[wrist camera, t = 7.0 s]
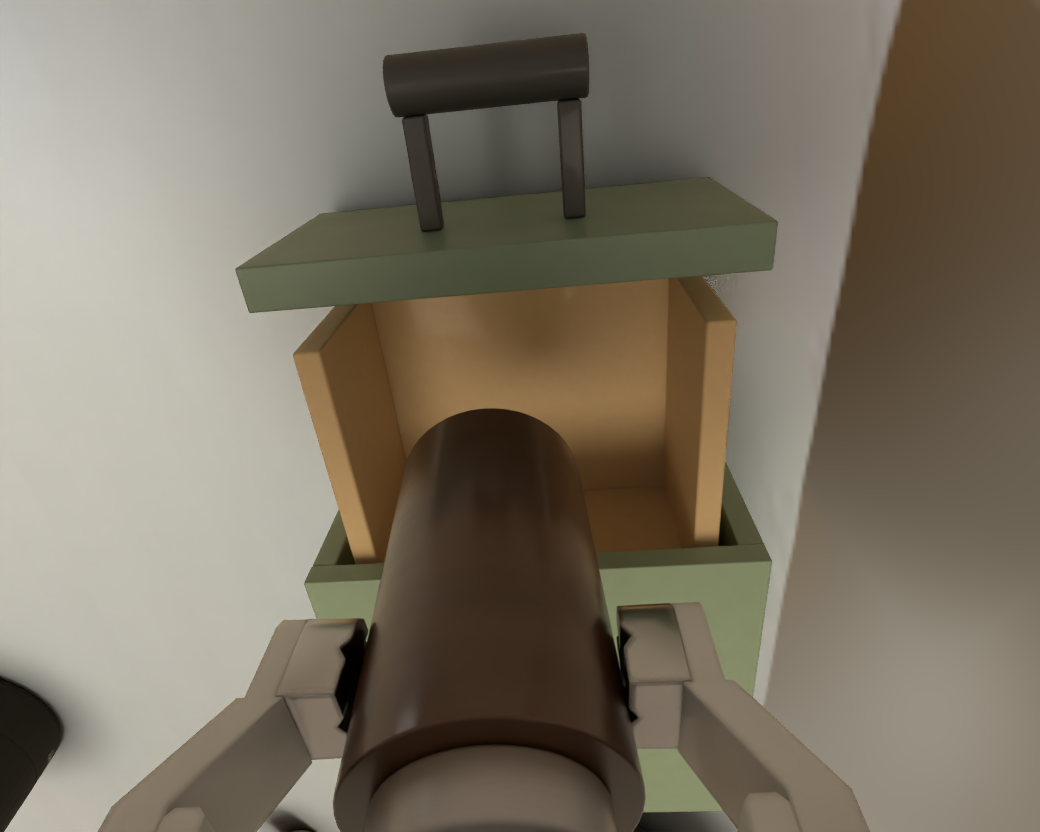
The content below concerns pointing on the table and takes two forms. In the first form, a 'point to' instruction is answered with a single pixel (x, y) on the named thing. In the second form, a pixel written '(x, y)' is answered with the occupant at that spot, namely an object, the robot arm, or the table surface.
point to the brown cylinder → (490, 650)
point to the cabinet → (626, 581)
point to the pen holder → (23, 746)
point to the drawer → (522, 313)
